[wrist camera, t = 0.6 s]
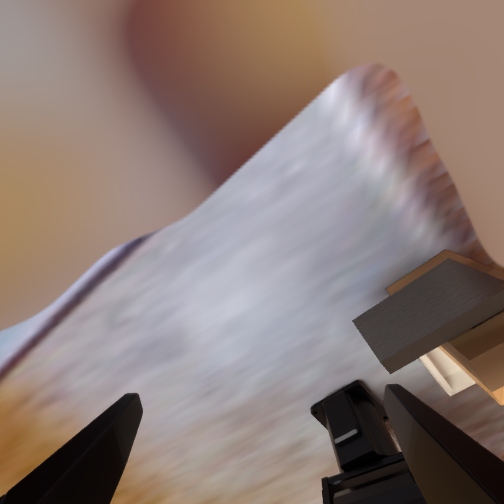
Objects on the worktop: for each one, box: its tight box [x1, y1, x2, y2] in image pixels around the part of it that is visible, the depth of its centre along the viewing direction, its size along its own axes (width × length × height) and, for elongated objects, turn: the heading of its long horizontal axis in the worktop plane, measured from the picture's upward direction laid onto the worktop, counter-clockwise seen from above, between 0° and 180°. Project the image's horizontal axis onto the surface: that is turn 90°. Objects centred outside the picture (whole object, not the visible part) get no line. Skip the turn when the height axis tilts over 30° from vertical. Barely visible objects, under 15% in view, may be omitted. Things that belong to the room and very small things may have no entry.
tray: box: [419, 347, 476, 396], centre depth 22 cm, size 10×9×2 cm
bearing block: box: [386, 250, 504, 392], centre depth 17 cm, size 3×6×9 cm, turn 130°
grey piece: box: [352, 258, 504, 374], centre depth 17 cm, size 9×8×4 cm
